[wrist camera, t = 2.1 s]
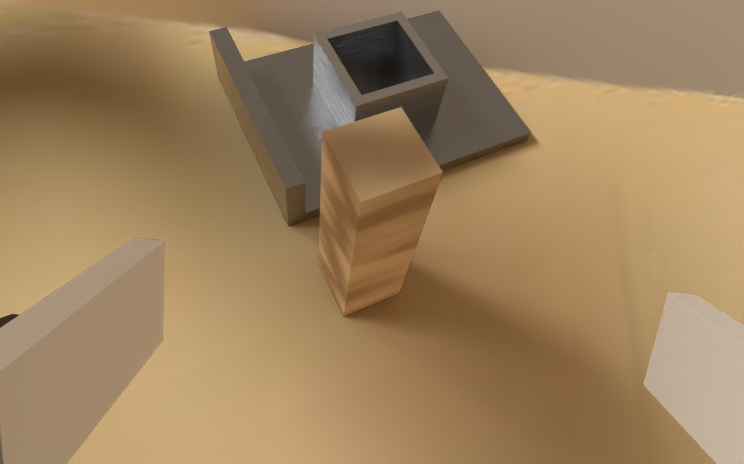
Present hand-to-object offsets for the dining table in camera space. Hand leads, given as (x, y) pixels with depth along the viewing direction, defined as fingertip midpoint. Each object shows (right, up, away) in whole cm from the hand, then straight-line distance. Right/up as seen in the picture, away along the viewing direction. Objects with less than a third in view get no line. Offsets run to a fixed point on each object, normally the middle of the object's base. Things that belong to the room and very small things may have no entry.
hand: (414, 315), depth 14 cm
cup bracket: (-1, +13, +33) cm, 36 cm away
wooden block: (-2, -1, +26) cm, 26 cm away
